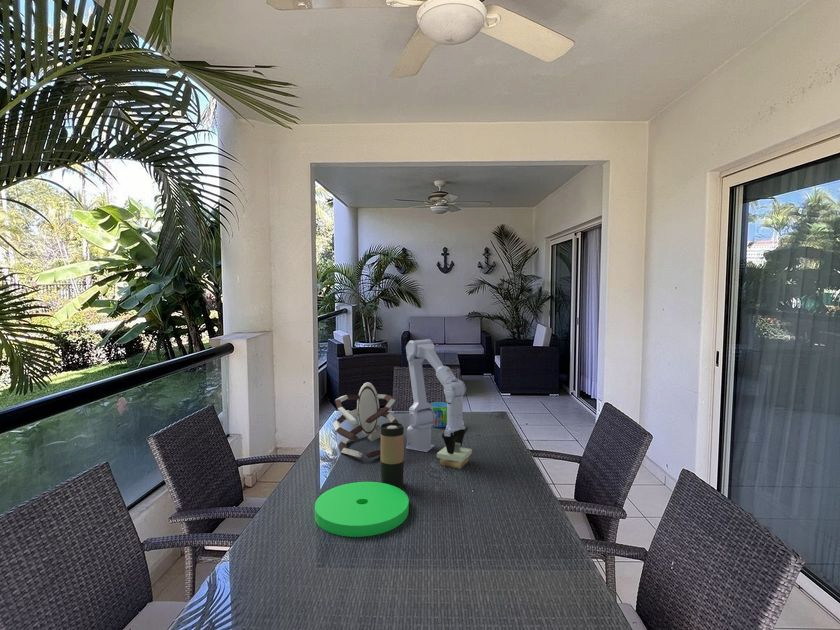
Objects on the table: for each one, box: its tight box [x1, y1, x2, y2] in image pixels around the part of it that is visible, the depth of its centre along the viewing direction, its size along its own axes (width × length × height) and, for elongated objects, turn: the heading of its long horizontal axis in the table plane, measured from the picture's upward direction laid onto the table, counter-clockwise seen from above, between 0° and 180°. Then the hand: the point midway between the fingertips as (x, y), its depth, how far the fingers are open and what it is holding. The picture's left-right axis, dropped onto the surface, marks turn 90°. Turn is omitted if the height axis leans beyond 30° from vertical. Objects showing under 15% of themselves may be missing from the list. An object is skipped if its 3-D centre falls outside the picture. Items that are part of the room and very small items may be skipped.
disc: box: [314, 481, 410, 538], centre depth 132 cm, size 27×27×3 cm
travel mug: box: [380, 422, 405, 489], centre depth 149 cm, size 8×8×20 cm
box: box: [439, 456, 469, 470], centre depth 168 cm, size 8×8×4 cm
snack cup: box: [429, 401, 447, 428], centre depth 214 cm, size 16×10×10 cm
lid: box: [436, 442, 473, 462], centre depth 168 cm, size 10×10×5 cm
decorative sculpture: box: [332, 381, 400, 459], centre depth 185 cm, size 24×27×35 cm
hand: (454, 450), depth 168 cm, fingers open, 7 cm apart
